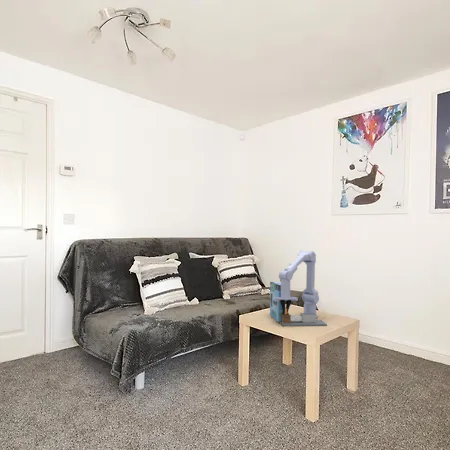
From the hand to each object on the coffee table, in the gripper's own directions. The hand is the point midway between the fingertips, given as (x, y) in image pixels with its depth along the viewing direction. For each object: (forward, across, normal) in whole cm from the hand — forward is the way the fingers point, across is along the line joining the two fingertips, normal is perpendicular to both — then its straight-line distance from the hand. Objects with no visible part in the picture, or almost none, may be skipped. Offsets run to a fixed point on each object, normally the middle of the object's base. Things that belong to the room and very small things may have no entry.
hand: (285, 312), depth 202 cm
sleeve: (+6, +14, 0) cm, 15 cm away
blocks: (+5, +6, 0) cm, 8 cm away
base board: (+7, +10, 0) cm, 13 cm away
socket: (+7, 0, 0) cm, 7 cm away
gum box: (+7, -2, +12) cm, 14 cm away
